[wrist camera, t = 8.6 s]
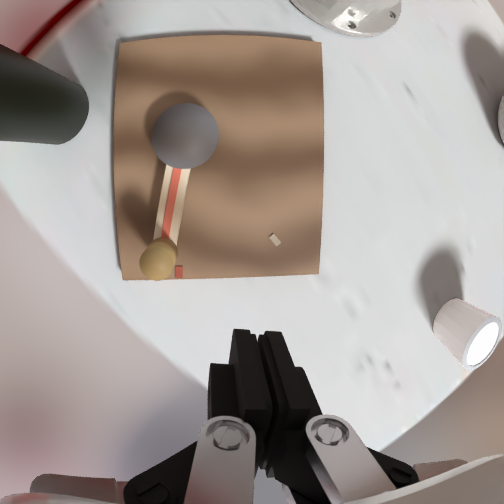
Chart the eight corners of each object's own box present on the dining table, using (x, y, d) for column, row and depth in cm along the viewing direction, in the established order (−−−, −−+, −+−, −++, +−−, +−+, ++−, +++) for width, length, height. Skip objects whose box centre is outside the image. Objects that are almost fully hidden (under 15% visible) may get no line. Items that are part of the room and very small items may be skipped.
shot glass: (435, 352, 33) (466, 381, 26) (422, 318, 31) (458, 348, 25) (471, 318, 33) (504, 342, 26) (461, 282, 31) (500, 304, 24)
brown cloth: (122, 46, 20) (119, 42, 19) (317, 46, 22) (321, 42, 21) (125, 276, 26) (122, 280, 25) (315, 270, 28) (319, 274, 27)
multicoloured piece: (162, 101, 21) (153, 89, 17) (225, 112, 22) (227, 102, 18) (133, 257, 24) (120, 273, 20) (192, 268, 25) (188, 286, 21)
